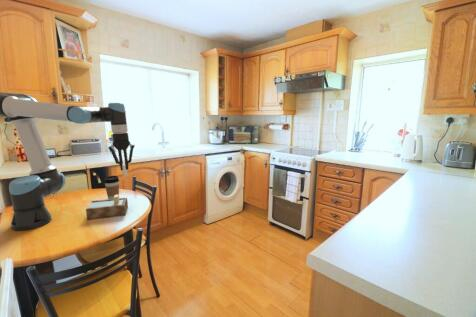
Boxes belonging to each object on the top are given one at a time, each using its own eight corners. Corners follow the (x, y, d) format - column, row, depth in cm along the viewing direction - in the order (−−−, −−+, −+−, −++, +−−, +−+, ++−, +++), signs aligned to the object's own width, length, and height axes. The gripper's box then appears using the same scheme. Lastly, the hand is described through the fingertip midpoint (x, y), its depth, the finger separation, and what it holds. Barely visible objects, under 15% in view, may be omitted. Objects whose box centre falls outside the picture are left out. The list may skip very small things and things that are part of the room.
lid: (87, 210, 123) (85, 201, 122) (91, 204, 131) (90, 195, 130) (121, 206, 128) (120, 198, 127) (123, 200, 136) (123, 192, 135)
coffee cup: (123, 197, 153) (121, 175, 150) (115, 202, 145) (113, 179, 142) (111, 197, 154) (109, 175, 151) (103, 202, 146) (100, 179, 143)
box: (87, 220, 122) (85, 209, 121) (93, 210, 133) (92, 200, 132) (125, 215, 127) (124, 205, 126) (128, 207, 139) (127, 197, 137)
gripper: (104, 134, 119) (111, 178, 124) (132, 132, 123) (137, 176, 127) (107, 132, 126) (113, 175, 131) (134, 131, 130) (138, 172, 134)
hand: (125, 175), depth 129 cm, fingers closed
